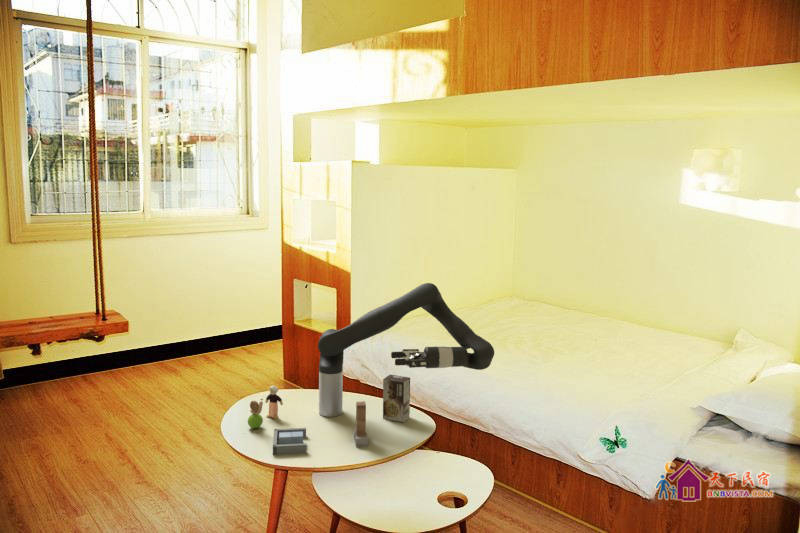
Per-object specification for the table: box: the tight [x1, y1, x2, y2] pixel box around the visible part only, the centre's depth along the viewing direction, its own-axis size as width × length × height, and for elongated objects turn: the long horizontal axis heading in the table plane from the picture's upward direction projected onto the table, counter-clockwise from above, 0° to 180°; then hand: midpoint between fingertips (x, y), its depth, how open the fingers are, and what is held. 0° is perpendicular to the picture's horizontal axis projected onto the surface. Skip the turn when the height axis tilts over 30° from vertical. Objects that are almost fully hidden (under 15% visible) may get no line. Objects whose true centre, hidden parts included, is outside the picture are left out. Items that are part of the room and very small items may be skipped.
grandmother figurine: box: [264, 385, 284, 420], centre depth 237 cm, size 8×4×13 cm, turn 81°
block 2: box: [291, 432, 304, 444], centre depth 214 cm, size 4×4×4 cm
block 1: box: [278, 432, 291, 445], centre depth 213 cm, size 4×4×4 cm
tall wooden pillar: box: [353, 400, 369, 448], centre depth 217 cm, size 9×4×14 cm, turn 9°
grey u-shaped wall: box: [272, 427, 308, 456], centre depth 214 cm, size 14×11×3 cm
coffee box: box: [382, 374, 411, 423], centre depth 239 cm, size 9×6×16 cm
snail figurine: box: [247, 398, 264, 429], centre depth 226 cm, size 5×6×12 cm
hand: (393, 358), depth 215 cm, fingers open, 8 cm apart
